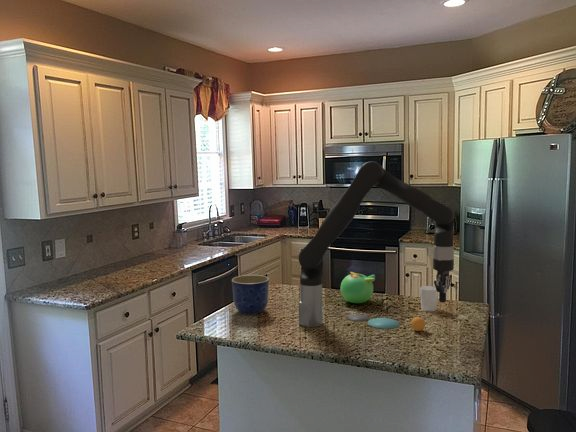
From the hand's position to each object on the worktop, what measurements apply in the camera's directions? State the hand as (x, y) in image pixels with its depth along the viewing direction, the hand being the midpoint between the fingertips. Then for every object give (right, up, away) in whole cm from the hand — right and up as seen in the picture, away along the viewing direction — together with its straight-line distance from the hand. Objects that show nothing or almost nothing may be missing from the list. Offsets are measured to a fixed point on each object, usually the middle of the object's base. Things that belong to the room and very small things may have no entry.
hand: (442, 301), depth 180 cm
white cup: (+5, -10, +35) cm, 37 cm away
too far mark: (-29, -11, +24) cm, 39 cm away
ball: (-7, -10, +7) cm, 14 cm away
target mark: (-19, -12, +16) cm, 28 cm away
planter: (-76, -11, +35) cm, 85 cm away
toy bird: (-25, -9, +47) cm, 55 cm away
